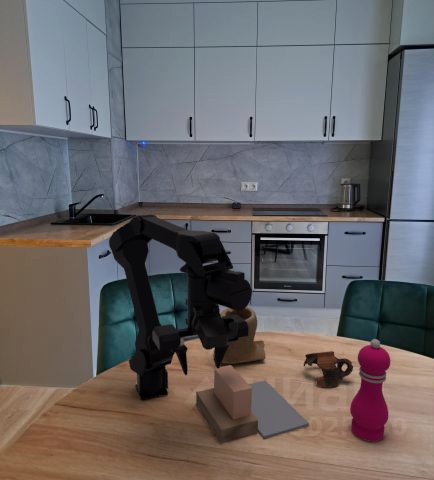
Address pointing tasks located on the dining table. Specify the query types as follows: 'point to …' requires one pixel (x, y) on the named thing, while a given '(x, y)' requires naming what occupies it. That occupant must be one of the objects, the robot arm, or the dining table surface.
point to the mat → (273, 411)
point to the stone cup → (244, 340)
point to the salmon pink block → (232, 391)
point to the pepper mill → (370, 393)
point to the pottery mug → (329, 368)
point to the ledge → (224, 418)
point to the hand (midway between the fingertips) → (201, 370)
